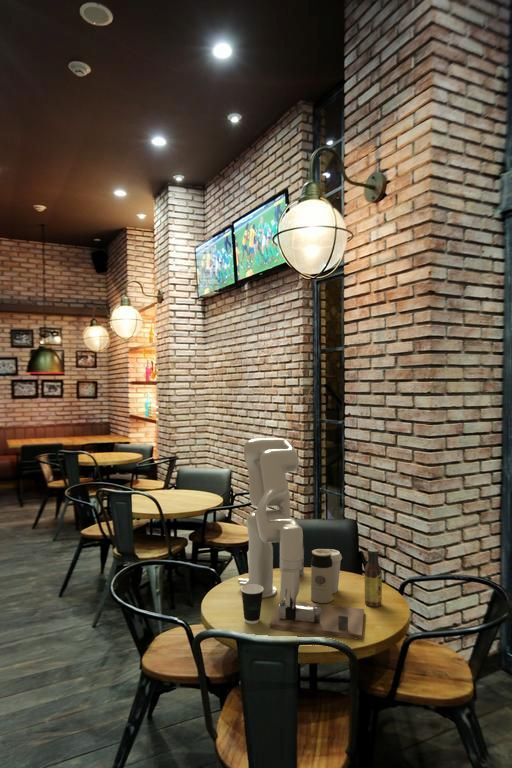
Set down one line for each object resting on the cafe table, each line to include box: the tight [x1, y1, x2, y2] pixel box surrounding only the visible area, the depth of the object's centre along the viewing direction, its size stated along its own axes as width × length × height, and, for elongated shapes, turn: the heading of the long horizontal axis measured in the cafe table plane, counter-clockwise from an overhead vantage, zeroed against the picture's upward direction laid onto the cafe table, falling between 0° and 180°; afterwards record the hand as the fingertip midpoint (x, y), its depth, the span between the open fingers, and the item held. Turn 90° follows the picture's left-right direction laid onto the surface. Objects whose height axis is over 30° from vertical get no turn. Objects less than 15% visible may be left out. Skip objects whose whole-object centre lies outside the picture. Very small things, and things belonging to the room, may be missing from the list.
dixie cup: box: [240, 584, 264, 625], centre depth 174 cm, size 8×8×11 cm
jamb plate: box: [268, 599, 365, 640], centre depth 174 cm, size 30×20×6 cm, turn 76°
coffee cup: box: [325, 548, 343, 594], centre depth 201 cm, size 10×10×15 cm
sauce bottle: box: [364, 548, 383, 608], centre depth 188 cm, size 7×6×20 cm
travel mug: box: [310, 548, 333, 604], centre depth 192 cm, size 8×8×18 cm
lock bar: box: [279, 600, 320, 623], centre depth 171 cm, size 14×2×5 cm, turn 76°
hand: (290, 619), depth 167 cm, fingers closed
